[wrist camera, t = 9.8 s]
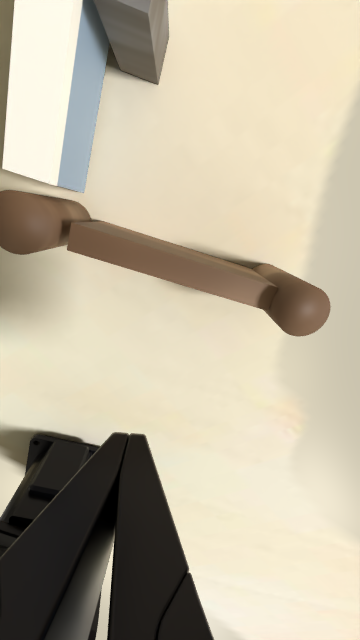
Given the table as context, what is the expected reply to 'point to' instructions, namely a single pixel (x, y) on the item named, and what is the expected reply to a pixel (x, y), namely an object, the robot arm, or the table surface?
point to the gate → (54, 90)
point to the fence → (142, 250)
